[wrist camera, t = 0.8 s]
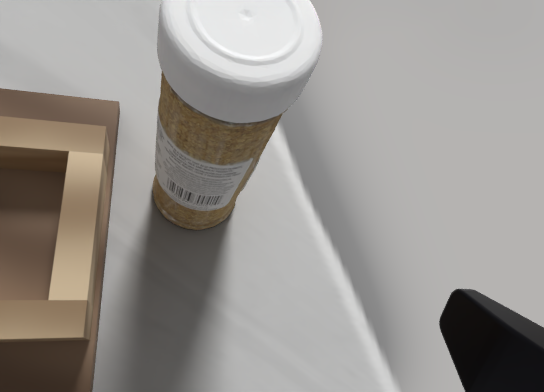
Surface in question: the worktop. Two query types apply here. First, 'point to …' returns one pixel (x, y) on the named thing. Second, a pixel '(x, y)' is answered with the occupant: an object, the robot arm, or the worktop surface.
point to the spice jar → (224, 96)
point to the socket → (53, 236)
